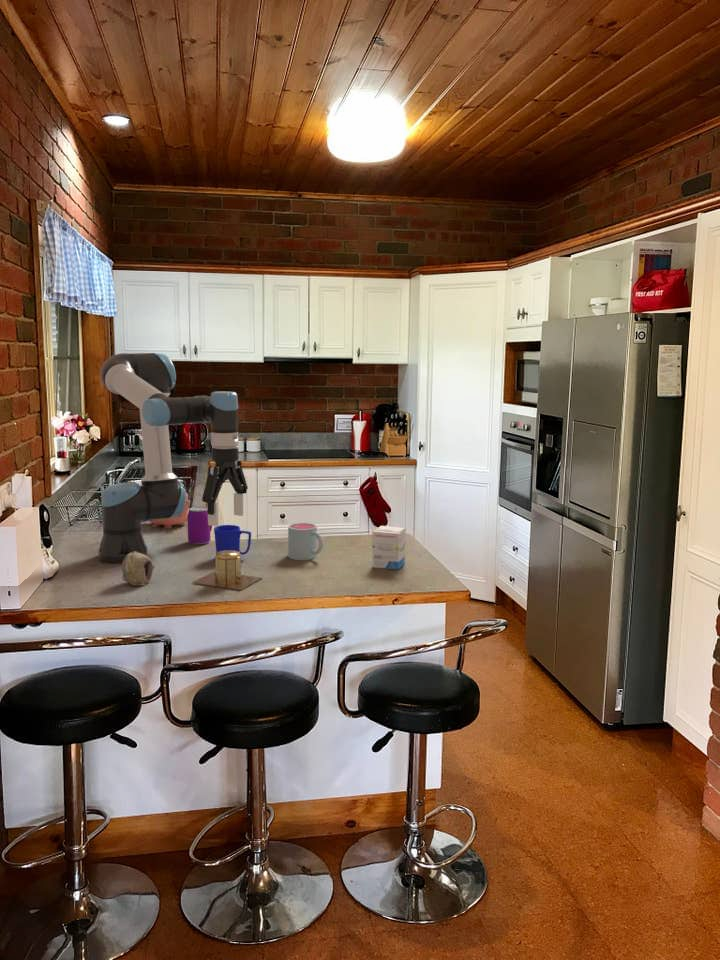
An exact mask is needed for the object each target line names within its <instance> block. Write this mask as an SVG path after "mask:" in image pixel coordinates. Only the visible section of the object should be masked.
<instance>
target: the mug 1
mask: <svg viewBox="0 0 720 960" xmlns="http://www.w3.org/2000/svg"><path fill="white" fill-rule="evenodd" d="M213 532H214V543H215V554H216V553H217V552H220V551H225V550H234V551H238V552H240V555H246V554H248V552H249V551H250V548H251V543H252V542H251V541H252V532H251V531H248V530H241V527H240V526H238V525H234V524H222V525H218V526H214V528H213ZM241 534H247V535H248V536H247V538H248V539H247V547H246V550H245V551H241V550H240V549H241V548H240V546H241Z"/></svg>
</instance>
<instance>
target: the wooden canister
mask: <svg viewBox="0 0 720 960" xmlns="http://www.w3.org/2000/svg"><path fill="white" fill-rule="evenodd" d="M214 561H215V571H216V572H214V571H213V572H214V577H216V581H217V582H218V583H223V584H226V583H227V584H231V583H237V582H239V581H241V580H243V576H242V575H243V574H242V571H241V569H242V565H241V564H242V563H241V554H240V552H238V551H234V550H225V551H220V552H217V553H216V552H215V560H214Z"/></svg>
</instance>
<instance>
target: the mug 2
mask: <svg viewBox="0 0 720 960" xmlns="http://www.w3.org/2000/svg"><path fill="white" fill-rule="evenodd" d="M287 527H288V529H287V534H288V535H287V536H288V537H287V539H288V541H287V544H288V547H287V553H288V554H287V557H288V558H289V559H291V560H294V561H295V560H296V561H310V560H313V559H315V558H317V557H318V556H317V555H319V554H320V553H321V552H322V551H323V547H324V541H323V538H322V537H321V535H320V534H319V533H318V529H317V527H318V526H317V525H316V523H315V524H314V523H310V522H297V523H291V524H289V525H288V526H287ZM317 540H318V541H317ZM318 542H319V545H318V544H317V543H318ZM317 546H318V548H317Z"/></svg>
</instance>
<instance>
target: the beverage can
mask: <svg viewBox="0 0 720 960" xmlns="http://www.w3.org/2000/svg"><path fill="white" fill-rule="evenodd" d="M186 522H187V542H189V543H190V545H194V546H195V545H196V546H200V545H201V544H203V545H206V544H205V543H207V544H209V543H210V542H211V525H208V510H207V506H194V507H189V512H188V515H187V521H186ZM201 546H202V545H201Z"/></svg>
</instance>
